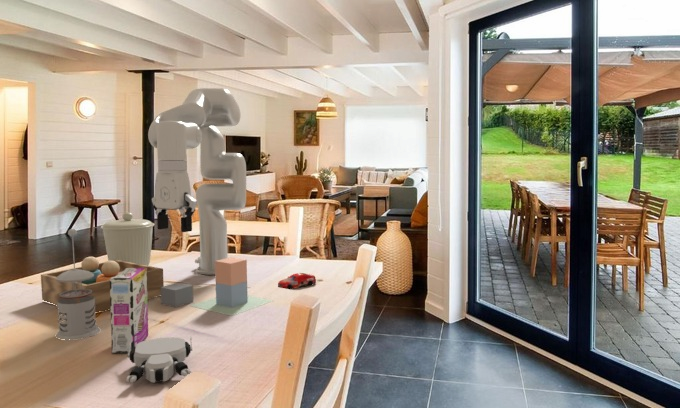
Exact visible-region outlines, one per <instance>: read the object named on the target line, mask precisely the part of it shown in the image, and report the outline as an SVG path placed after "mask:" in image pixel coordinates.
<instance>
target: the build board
mask: <svg viewBox="0 0 680 408" xmlns="http://www.w3.org/2000/svg"><path fill="white" fill-rule="evenodd" d="M272 302H273V300H272V299H267V298H261V297H257V296H252V295H248V302H247V303H244V304H241V305H238V306H235V307H232V308H231V307H227V306H222V305H218V304H216V297H212V298H210V299H206V300H203V301H200V302H197V303H194V304H190V305H189V306H190V307H193V308H197V309H201V310H205V311H209V312H213V313H219V314H222V315H226V316H231V317H233V316H236V315H238V314H239V315H240V314H241V313H243V312H247V311H250V310H252V309H255V308H258V307H260V306H262V305H266V304H268V303H272Z"/></svg>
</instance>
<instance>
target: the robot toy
mask: <svg viewBox="0 0 680 408" xmlns="http://www.w3.org/2000/svg"><path fill="white" fill-rule="evenodd" d="M192 339H193V338H192V336H190V337H189V340H190V344H189V342H188V341H186V340H185V338H181V337H171V336H169V337H158V338H151V339H145V340H144V341H142V342H140V343H138V344H136V347H133V349H132V350H131V351H130V346H131V343H129V353H127V358H128V359H129V360H130V362H131V363H132V364H134V365H135V366H136V367H134V368H133V369H131V370H130V371H129V375H127V377H126V379H125V381H126V382H128V383H134V382H137V381H140V380H141V379H142V377H143V376H144V377H145V379H146V380H148V381H149V382H150V383H156V382H158V383H159V382H166V381H168V380H170V379H171V378H172V377H173V375H174V374H175V373H176V374H178V375H179V376H183V377H185V376H187V375H188V374H189V375H191V374H192V371H191V370H190V368H189V367H188V365H187V363H185V362H184V361H186V358H188V357H189V356H190V354H191V352H192V351H193V346H192V345H193V344H192V343H193V342H192ZM144 373H145V375H144ZM190 373H191V374H190ZM169 378H170V379H169ZM162 380H163V381H162ZM155 381H156V382H155Z"/></svg>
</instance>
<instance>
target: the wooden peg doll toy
mask: <svg viewBox="0 0 680 408" xmlns="http://www.w3.org/2000/svg"><path fill="white" fill-rule="evenodd" d="M99 263H100V261H99V260H98V259H97V257H94V256H88V257H87V256H86V257H84V258H83V260H81V266H80V267H82V269H83V270H86V271H89V272H91V273H93V274H94V277H93V278H91V279H88V280H84V281H81V282H82V283H83V284H87V285H89V284H93V283H97V282H102V281H106V280H109V279H110V278H112V277H113V276H115V275H117V274H118V273H120V272H119V270H120V267H119V264H118V263H117V262H115V261H108V260H107V261H105V263H104V262H103V263H104V264H103V265H102V269H101V270H102V273H103V274H102V273H101V271H100V270H97V269H98V267H99ZM79 282H80V281H79Z"/></svg>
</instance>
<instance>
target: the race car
mask: <svg viewBox="0 0 680 408" xmlns="http://www.w3.org/2000/svg"><path fill="white" fill-rule="evenodd" d="M316 283H317V279H316V276H315V275H314V274H310V273H309V274H308V273H303V272H302V273H301V272H298V273H293V274H291V275H289V276H287V278H284V279H282V280H279V281H278V283H277V288H280V289H285V290H292V289H297V288H303V287H311V286H313V285H315V284H316Z"/></svg>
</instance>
